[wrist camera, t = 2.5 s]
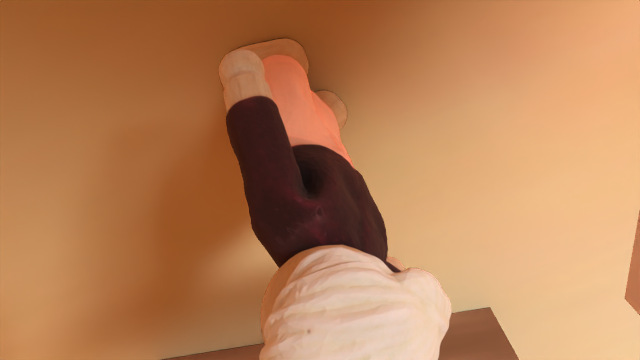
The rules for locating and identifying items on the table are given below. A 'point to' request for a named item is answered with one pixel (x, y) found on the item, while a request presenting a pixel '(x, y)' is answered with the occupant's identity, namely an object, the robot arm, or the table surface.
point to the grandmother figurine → (320, 222)
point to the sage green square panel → (455, 349)
